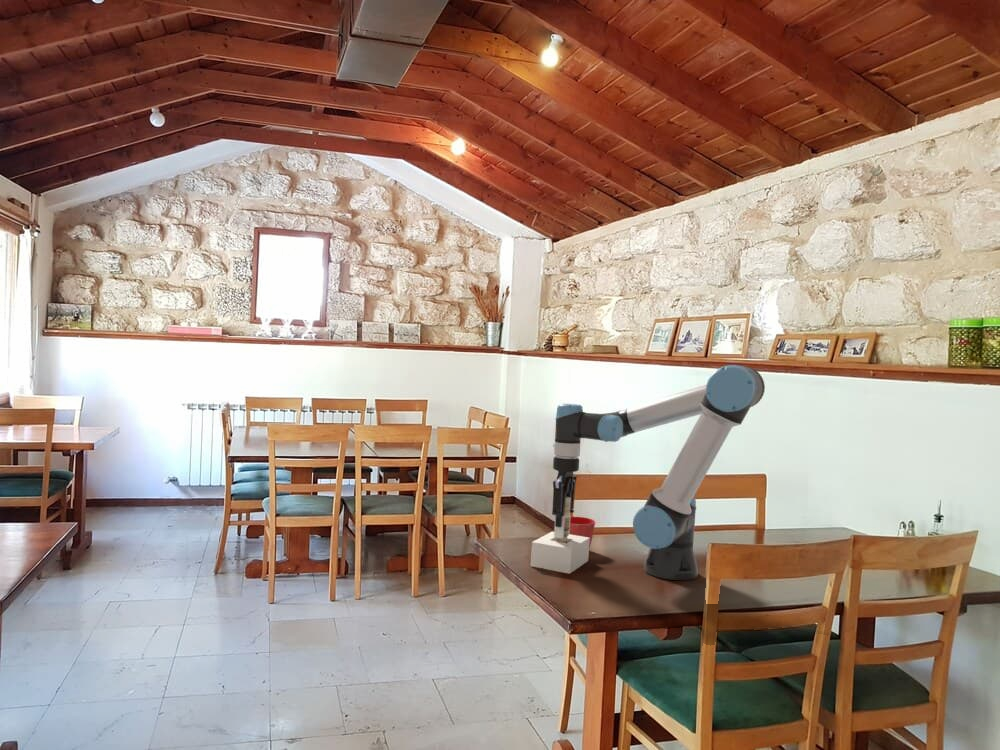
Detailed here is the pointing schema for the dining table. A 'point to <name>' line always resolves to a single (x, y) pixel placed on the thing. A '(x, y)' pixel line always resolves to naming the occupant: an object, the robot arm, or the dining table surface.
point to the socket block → (560, 553)
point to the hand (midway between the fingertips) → (561, 535)
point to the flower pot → (582, 527)
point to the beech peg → (566, 520)
